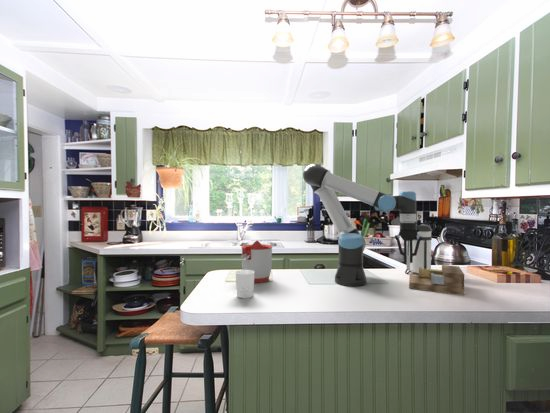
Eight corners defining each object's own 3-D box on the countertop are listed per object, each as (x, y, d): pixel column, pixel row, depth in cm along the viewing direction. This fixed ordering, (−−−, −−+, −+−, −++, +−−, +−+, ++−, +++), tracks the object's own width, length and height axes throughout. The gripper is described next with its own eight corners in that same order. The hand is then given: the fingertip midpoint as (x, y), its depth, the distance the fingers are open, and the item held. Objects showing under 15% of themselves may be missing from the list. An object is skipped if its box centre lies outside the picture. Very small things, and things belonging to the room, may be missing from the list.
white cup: (239, 300, 111) (239, 275, 111) (232, 294, 118) (233, 270, 118) (257, 297, 115) (257, 272, 115) (250, 291, 122) (250, 268, 122)
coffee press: (441, 277, 147) (442, 220, 147) (411, 277, 147) (411, 220, 147) (424, 269, 164) (425, 218, 164) (397, 269, 164) (397, 218, 164)
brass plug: (418, 276, 136) (418, 268, 136) (418, 274, 140) (418, 267, 140) (445, 279, 131) (445, 271, 131) (444, 277, 135) (444, 269, 135)
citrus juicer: (232, 281, 138) (232, 240, 138) (256, 274, 151) (256, 237, 151) (254, 287, 128) (254, 244, 128) (278, 279, 141) (278, 240, 141)
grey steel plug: (431, 283, 124) (431, 275, 124) (430, 281, 128) (430, 273, 128) (460, 287, 119) (460, 278, 119) (459, 284, 123) (459, 275, 123)
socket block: (409, 288, 127) (409, 268, 127) (409, 279, 142) (409, 262, 142) (464, 295, 118) (464, 274, 118) (458, 284, 133) (458, 266, 133)
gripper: (393, 222, 139) (393, 269, 140) (422, 222, 134) (423, 272, 134) (394, 221, 146) (394, 266, 146) (422, 222, 140) (422, 268, 140)
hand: (408, 269), depth 140 cm, fingers closed
